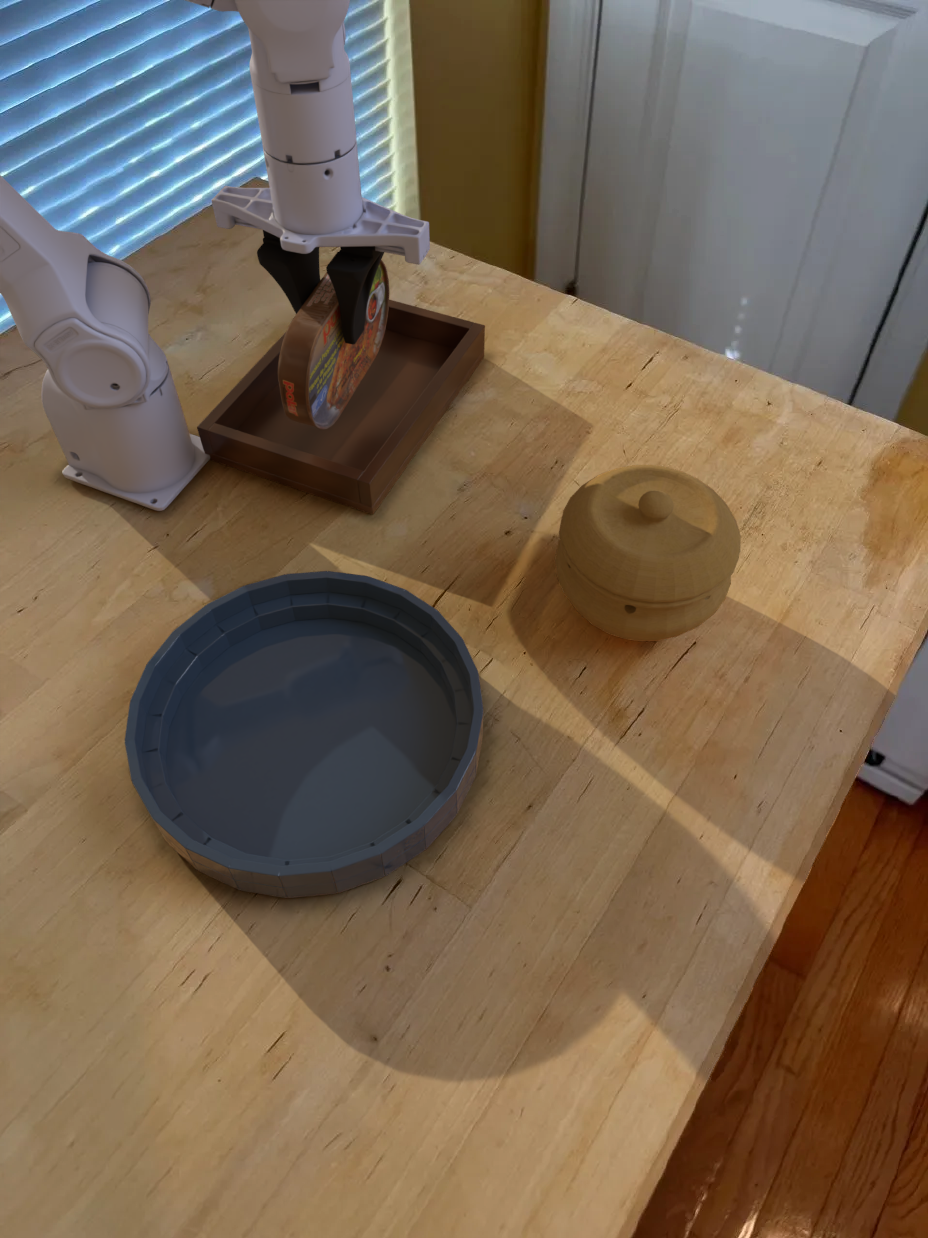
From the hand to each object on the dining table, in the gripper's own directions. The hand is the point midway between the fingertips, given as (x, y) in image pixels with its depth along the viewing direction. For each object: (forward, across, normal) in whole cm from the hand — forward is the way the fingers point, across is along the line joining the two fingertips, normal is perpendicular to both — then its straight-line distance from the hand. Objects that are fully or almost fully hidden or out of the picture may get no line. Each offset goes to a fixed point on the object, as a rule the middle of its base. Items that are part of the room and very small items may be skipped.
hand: (334, 331), depth 68 cm
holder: (+10, -1, +4) cm, 11 cm away
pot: (+10, +26, -9) cm, 29 cm away
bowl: (+10, +9, -26) cm, 29 cm away
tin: (+5, 0, 0) cm, 5 cm away
